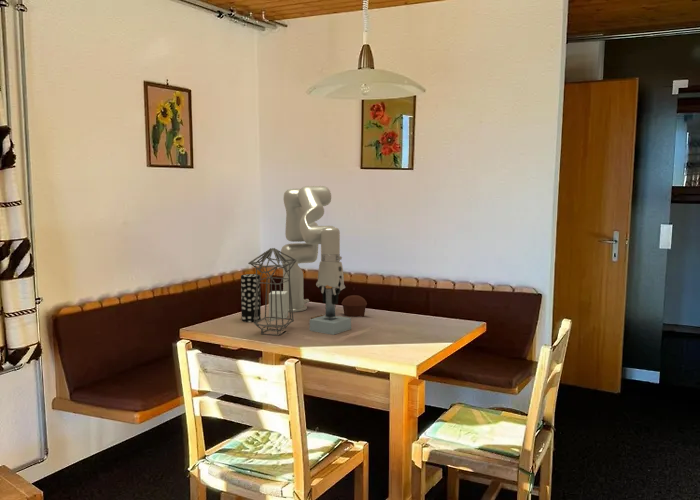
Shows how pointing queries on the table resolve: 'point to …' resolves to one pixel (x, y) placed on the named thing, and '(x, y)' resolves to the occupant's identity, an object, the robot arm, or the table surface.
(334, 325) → the socket
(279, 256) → the geometric lantern
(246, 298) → the spotted tube
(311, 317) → the mount
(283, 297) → the supplement box
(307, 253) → the robot arm
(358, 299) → the muffin
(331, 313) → the pin
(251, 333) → the table surface
